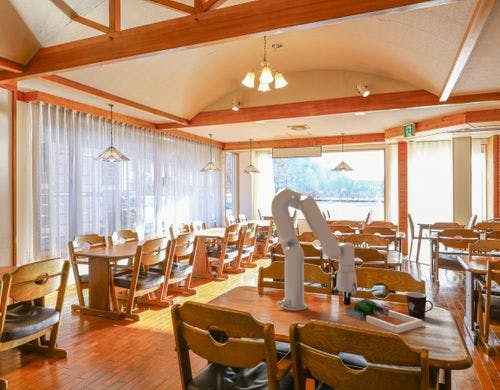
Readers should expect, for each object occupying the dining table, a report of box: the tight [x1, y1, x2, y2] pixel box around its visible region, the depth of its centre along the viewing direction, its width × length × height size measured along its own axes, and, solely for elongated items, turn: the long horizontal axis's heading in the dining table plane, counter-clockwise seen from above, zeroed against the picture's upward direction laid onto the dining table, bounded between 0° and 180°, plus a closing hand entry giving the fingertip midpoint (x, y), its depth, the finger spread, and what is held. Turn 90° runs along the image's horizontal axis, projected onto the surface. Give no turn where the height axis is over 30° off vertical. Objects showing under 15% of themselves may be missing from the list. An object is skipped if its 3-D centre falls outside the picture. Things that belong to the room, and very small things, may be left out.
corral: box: [365, 309, 423, 334], centre depth 157 cm, size 16×16×2 cm
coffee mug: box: [405, 291, 434, 320], centre depth 165 cm, size 12×9×10 cm
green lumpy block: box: [353, 298, 378, 317], centre depth 171 cm, size 12×6×9 cm, turn 130°
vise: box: [345, 303, 391, 321], centre depth 172 cm, size 23×9×3 cm, turn 120°
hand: (347, 304), depth 181 cm, fingers closed
